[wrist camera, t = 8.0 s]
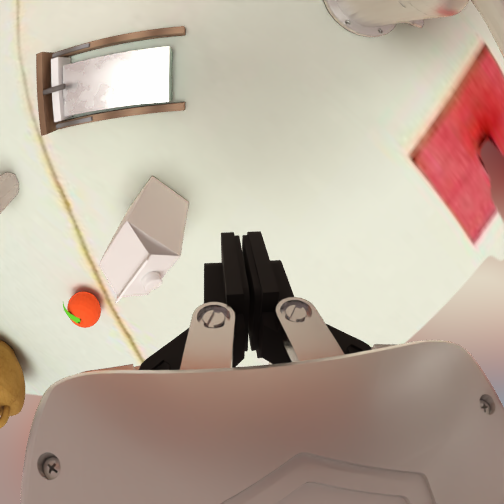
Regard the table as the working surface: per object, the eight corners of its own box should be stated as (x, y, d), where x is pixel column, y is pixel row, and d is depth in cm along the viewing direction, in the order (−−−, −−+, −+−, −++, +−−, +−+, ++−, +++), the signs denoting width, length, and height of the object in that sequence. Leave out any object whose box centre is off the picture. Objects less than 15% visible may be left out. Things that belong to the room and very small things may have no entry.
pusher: (70, 57, 28) (58, 56, 24) (73, 116, 33) (61, 120, 30) (63, 59, 28) (50, 59, 24) (66, 118, 33) (54, 122, 29)
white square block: (120, 56, 30) (112, 54, 27) (120, 105, 34) (112, 107, 31) (73, 66, 29) (62, 65, 26) (74, 113, 33) (64, 116, 30)
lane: (185, 28, 29) (181, 20, 25) (185, 108, 36) (180, 112, 31) (55, 55, 27) (36, 54, 22) (58, 128, 33) (40, 135, 29)
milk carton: (128, 209, 43) (88, 286, 27) (152, 174, 40) (116, 240, 25) (163, 233, 46) (143, 318, 30) (189, 201, 43) (178, 279, 28)
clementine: (65, 296, 50) (54, 320, 44) (75, 275, 48) (62, 300, 42) (97, 315, 54) (89, 340, 48) (109, 296, 51) (100, 322, 45)
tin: (173, 49, 31) (169, 46, 28) (172, 100, 35) (168, 101, 32) (120, 55, 30) (112, 54, 27) (120, 105, 34) (112, 107, 31)
